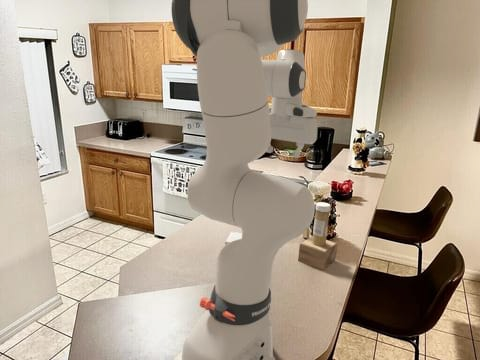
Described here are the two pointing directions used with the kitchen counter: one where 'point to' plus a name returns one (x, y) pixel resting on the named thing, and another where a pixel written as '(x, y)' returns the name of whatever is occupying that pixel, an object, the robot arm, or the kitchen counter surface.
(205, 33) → the robot arm
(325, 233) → the sprinkles bottle
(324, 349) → the kitchen counter surface
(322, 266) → the tan cardboard box
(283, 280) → the kitchen counter surface
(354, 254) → the kitchen counter surface
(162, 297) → the kitchen counter surface
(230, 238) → the small box
